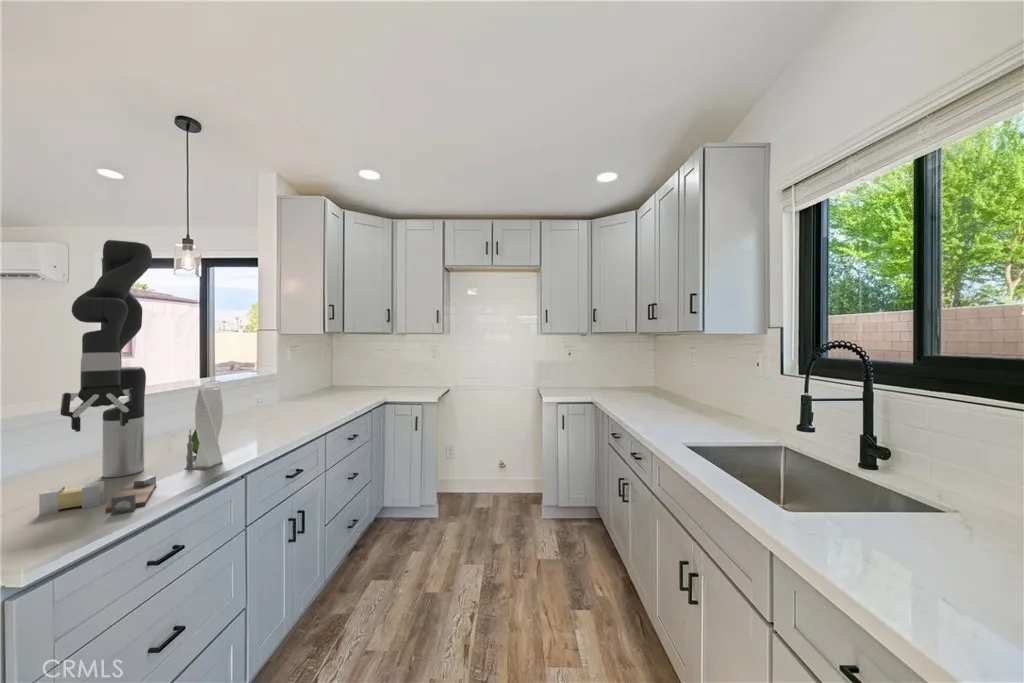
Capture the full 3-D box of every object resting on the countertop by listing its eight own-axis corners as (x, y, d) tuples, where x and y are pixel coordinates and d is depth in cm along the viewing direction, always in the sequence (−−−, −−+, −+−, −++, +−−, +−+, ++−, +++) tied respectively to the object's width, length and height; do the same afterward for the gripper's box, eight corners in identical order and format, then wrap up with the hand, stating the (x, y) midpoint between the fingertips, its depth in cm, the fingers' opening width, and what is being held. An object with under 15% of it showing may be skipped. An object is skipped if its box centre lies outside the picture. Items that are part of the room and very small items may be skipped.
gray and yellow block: (46, 509, 95) (46, 488, 95) (104, 499, 101) (104, 480, 101) (39, 515, 92) (39, 494, 92) (99, 505, 97) (99, 485, 97)
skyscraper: (206, 461, 133) (207, 380, 133) (229, 461, 132) (229, 380, 132) (184, 469, 124) (185, 382, 124) (208, 469, 124) (209, 383, 124)
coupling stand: (124, 488, 108) (125, 474, 108) (158, 483, 112) (158, 469, 112) (101, 517, 91) (101, 500, 91) (142, 509, 95) (142, 493, 95)
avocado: (210, 457, 137) (210, 423, 137) (184, 458, 136) (185, 424, 136) (222, 450, 145) (222, 419, 145) (198, 451, 144) (199, 419, 144)
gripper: (132, 368, 114) (132, 423, 113) (59, 370, 102) (58, 432, 102) (140, 368, 110) (140, 425, 109) (64, 370, 98) (63, 434, 97)
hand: (100, 428), depth 105 cm, fingers open, 8 cm apart
